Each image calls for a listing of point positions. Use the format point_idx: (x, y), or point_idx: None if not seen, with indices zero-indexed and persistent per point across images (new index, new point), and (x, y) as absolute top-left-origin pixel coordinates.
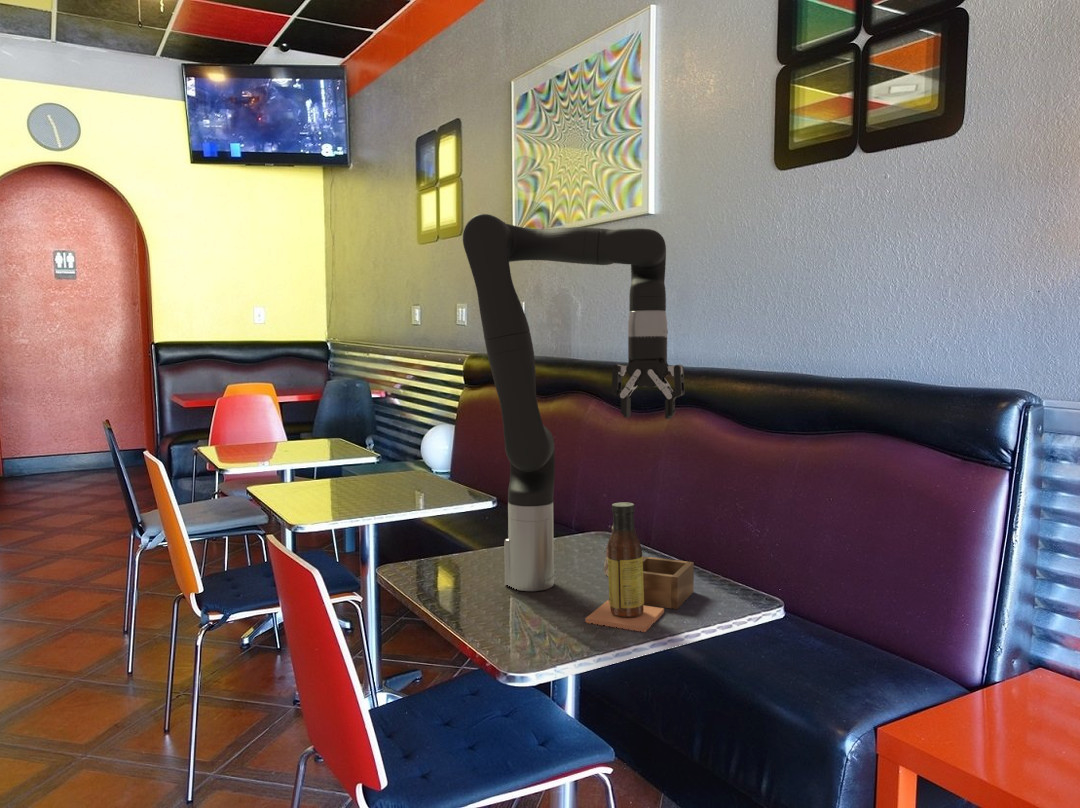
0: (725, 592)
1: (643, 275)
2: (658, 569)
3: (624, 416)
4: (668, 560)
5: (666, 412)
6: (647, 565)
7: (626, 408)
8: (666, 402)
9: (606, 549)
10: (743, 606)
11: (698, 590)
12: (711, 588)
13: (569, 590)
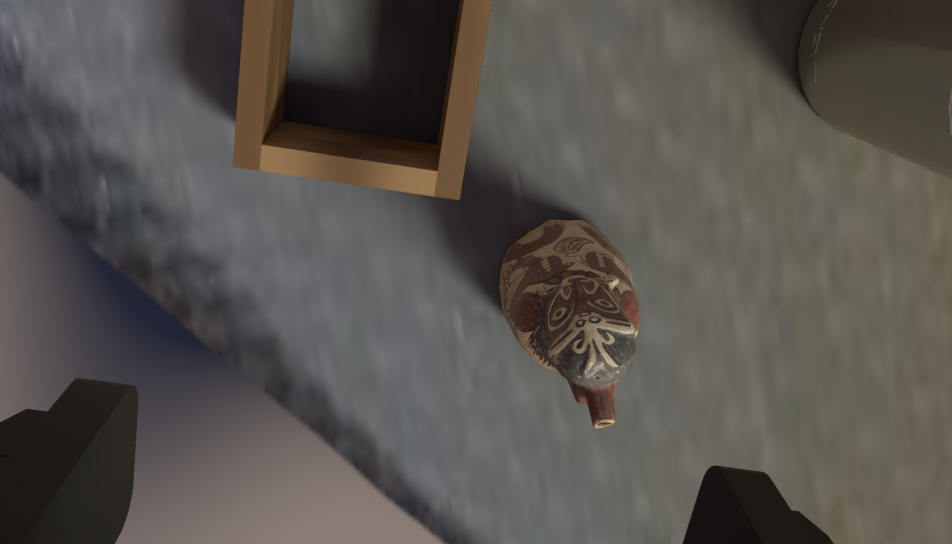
0: (141, 169)
1: None
2: (388, 154)
3: (747, 472)
4: (343, 164)
5: (81, 418)
6: (436, 163)
7: (758, 527)
8: (5, 512)
9: (637, 301)
10: (43, 16)
11: None
12: (201, 204)
13: (725, 25)
